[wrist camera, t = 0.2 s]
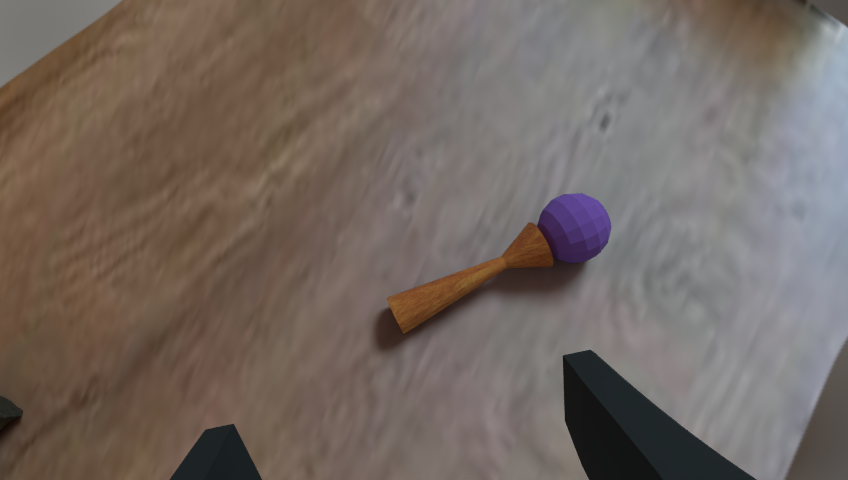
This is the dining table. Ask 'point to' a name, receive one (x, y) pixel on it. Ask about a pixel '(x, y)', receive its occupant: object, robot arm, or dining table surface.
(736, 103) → the dining table surface
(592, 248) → the kendama
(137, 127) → the dining table surface
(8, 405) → the hand tool
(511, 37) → the dining table surface
